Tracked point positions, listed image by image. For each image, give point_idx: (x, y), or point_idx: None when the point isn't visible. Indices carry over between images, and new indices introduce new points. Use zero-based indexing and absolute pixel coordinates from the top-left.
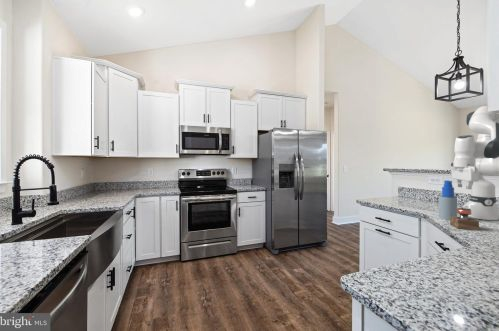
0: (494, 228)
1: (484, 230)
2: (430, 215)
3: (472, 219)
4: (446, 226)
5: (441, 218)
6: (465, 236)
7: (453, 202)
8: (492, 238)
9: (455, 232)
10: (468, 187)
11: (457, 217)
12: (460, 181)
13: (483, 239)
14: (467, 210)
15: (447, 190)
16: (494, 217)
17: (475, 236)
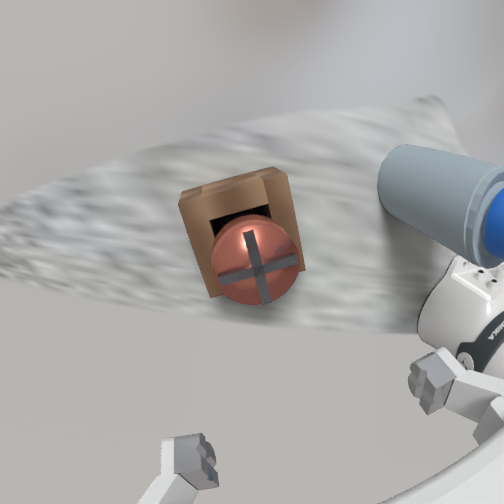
0: (289, 327)
1: None
2: (440, 117)
3: None
4: (211, 142)
5: (394, 150)
6: (55, 209)
7: (447, 234)
8: (96, 295)
9: (98, 174)
10: (162, 460)
11: (269, 210)
12: (480, 418)
13: (57, 264)
14: (218, 282)
15: None
16: (426, 340)
17: (82, 245)
